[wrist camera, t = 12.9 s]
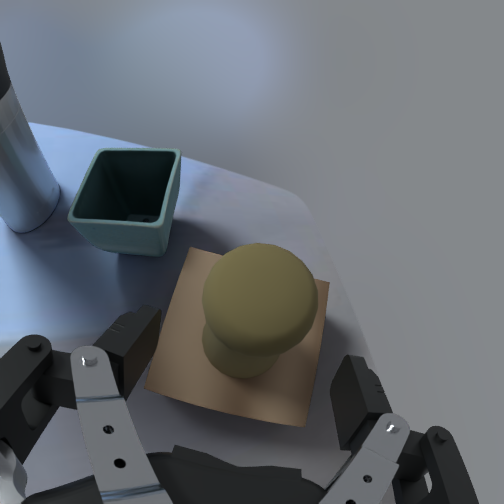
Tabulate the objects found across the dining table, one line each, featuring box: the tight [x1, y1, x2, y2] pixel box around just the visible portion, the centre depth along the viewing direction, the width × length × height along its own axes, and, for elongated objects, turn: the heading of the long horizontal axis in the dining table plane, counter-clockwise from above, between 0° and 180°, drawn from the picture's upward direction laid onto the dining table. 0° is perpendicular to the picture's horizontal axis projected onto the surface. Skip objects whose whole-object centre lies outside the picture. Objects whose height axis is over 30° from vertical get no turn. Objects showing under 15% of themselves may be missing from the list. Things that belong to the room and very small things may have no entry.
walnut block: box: [144, 247, 330, 427], centre depth 24 cm, size 12×12×6 cm
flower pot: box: [67, 148, 181, 257], centre depth 27 cm, size 9×9×9 cm
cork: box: [202, 243, 318, 379], centre depth 17 cm, size 6×6×11 cm
